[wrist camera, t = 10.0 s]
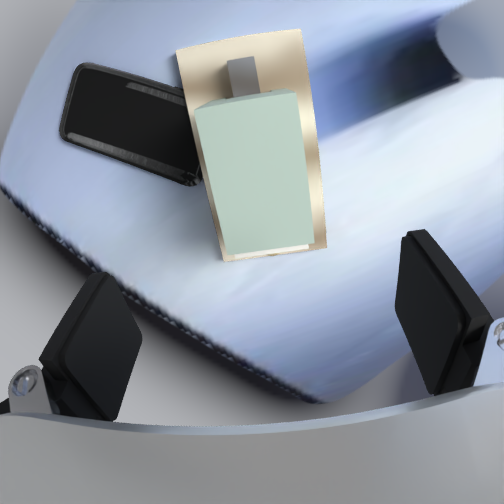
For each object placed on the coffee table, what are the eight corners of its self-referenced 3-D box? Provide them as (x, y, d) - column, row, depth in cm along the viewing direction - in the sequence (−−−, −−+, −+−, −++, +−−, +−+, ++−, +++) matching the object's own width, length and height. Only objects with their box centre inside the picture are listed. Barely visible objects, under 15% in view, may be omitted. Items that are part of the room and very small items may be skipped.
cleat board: (178, 51, 23) (168, 48, 20) (299, 30, 22) (304, 25, 19) (224, 256, 33) (221, 273, 30) (325, 242, 32) (330, 259, 29)
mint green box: (211, 100, 24) (193, 110, 18) (285, 88, 23) (296, 92, 17) (237, 225, 30) (231, 271, 23) (303, 215, 29) (316, 260, 23)
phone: (197, 190, 28) (56, 138, 25) (199, 186, 29) (62, 135, 26) (231, 108, 25) (77, 59, 22) (233, 107, 26) (83, 59, 23)
